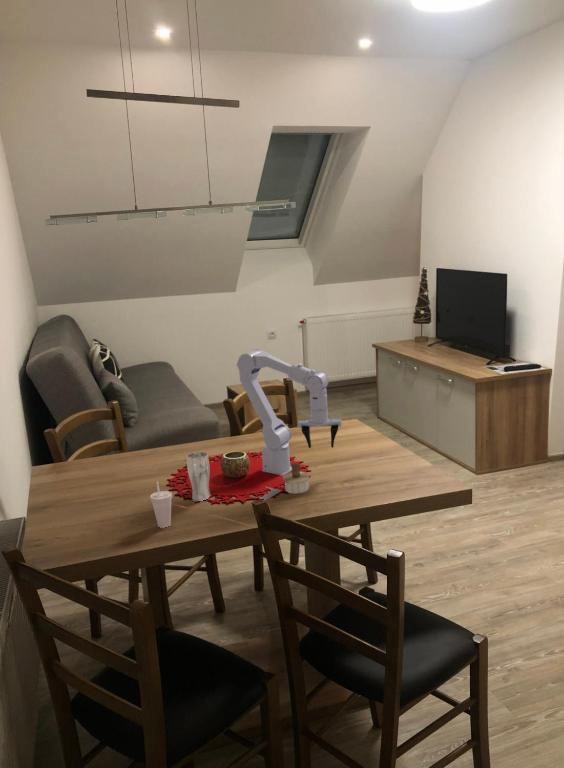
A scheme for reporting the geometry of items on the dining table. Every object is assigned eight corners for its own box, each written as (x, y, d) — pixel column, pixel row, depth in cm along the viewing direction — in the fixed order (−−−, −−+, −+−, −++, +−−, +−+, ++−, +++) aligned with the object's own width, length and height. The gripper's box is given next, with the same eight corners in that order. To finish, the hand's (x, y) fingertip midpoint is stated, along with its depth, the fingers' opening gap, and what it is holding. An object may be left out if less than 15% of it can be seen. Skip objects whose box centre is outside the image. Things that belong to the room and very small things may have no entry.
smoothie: (154, 521, 191) (149, 478, 188) (176, 519, 192) (171, 476, 189) (152, 531, 185) (146, 486, 182) (174, 529, 186) (169, 484, 182)
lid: (277, 480, 207) (276, 466, 205) (293, 472, 213) (292, 458, 212) (298, 485, 201) (297, 471, 200) (314, 476, 208) (313, 462, 207)
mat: (243, 496, 206) (243, 495, 206) (260, 486, 213) (260, 485, 213) (265, 501, 201) (265, 500, 200) (282, 491, 208) (282, 490, 207)
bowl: (281, 491, 207) (280, 480, 207) (294, 483, 213) (293, 472, 212) (299, 496, 203) (299, 484, 202) (313, 487, 209) (312, 476, 208)
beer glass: (215, 495, 208) (211, 451, 205) (206, 503, 202) (202, 459, 199) (196, 493, 211) (192, 450, 207) (187, 502, 204) (182, 458, 201)
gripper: (296, 412, 211) (298, 451, 214) (340, 410, 209) (342, 450, 212) (298, 406, 218) (300, 444, 221) (340, 405, 216) (342, 443, 219)
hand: (321, 446), depth 217 cm, fingers open, 7 cm apart
